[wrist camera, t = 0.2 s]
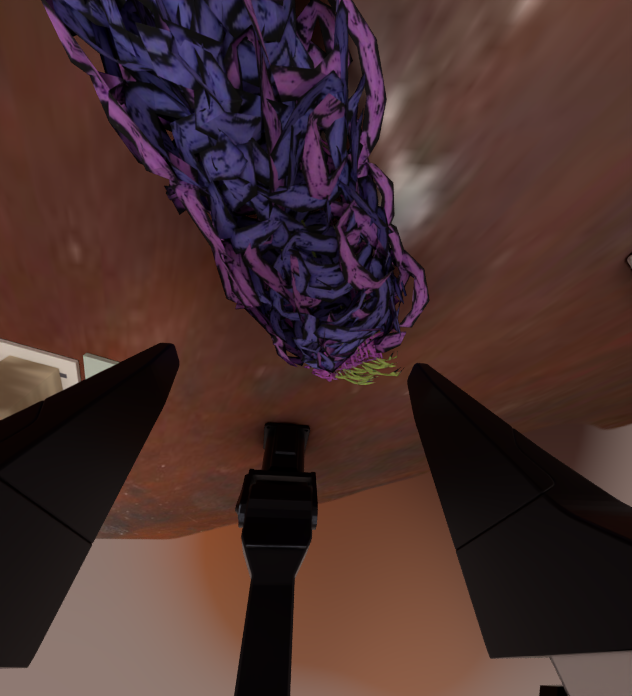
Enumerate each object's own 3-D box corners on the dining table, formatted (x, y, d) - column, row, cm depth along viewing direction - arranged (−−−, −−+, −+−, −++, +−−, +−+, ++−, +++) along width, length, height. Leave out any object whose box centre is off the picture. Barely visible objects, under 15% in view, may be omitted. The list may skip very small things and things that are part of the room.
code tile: (7, 384, 30) (3, 386, 29) (-12, 335, 25) (-16, 337, 25) (83, 402, 32) (81, 405, 32) (78, 360, 28) (75, 363, 27)
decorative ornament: (452, -749, 4) (459, 401, 21) (304, -99, 13) (393, 342, 30) (-368, -530, 4) (317, 471, 20) (63, -7, 12) (293, 390, 29)
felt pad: (164, 375, 29) (162, 378, 29) (157, 413, 34) (156, 416, 33) (86, 352, 27) (83, 355, 27) (90, 396, 31) (87, 399, 31)
